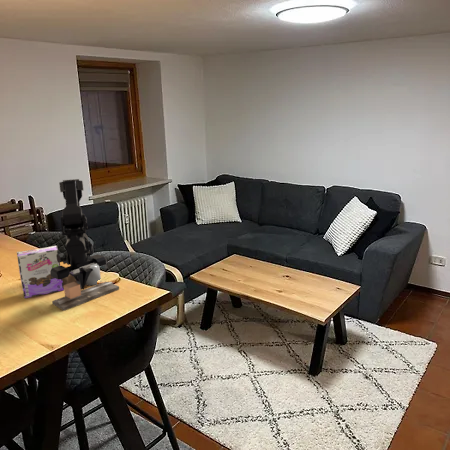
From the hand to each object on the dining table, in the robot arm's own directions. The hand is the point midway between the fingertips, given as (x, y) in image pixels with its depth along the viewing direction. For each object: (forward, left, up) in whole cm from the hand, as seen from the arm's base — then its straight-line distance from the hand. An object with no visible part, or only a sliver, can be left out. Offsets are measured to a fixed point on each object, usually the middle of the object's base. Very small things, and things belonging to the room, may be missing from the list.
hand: (82, 288), depth 150 cm
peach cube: (+4, 0, -1) cm, 4 cm away
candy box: (+7, -17, -4) cm, 19 cm away
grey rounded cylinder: (-10, -10, -4) cm, 15 cm away
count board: (-1, 0, -4) cm, 4 cm away
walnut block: (-3, -15, -4) cm, 16 cm away
